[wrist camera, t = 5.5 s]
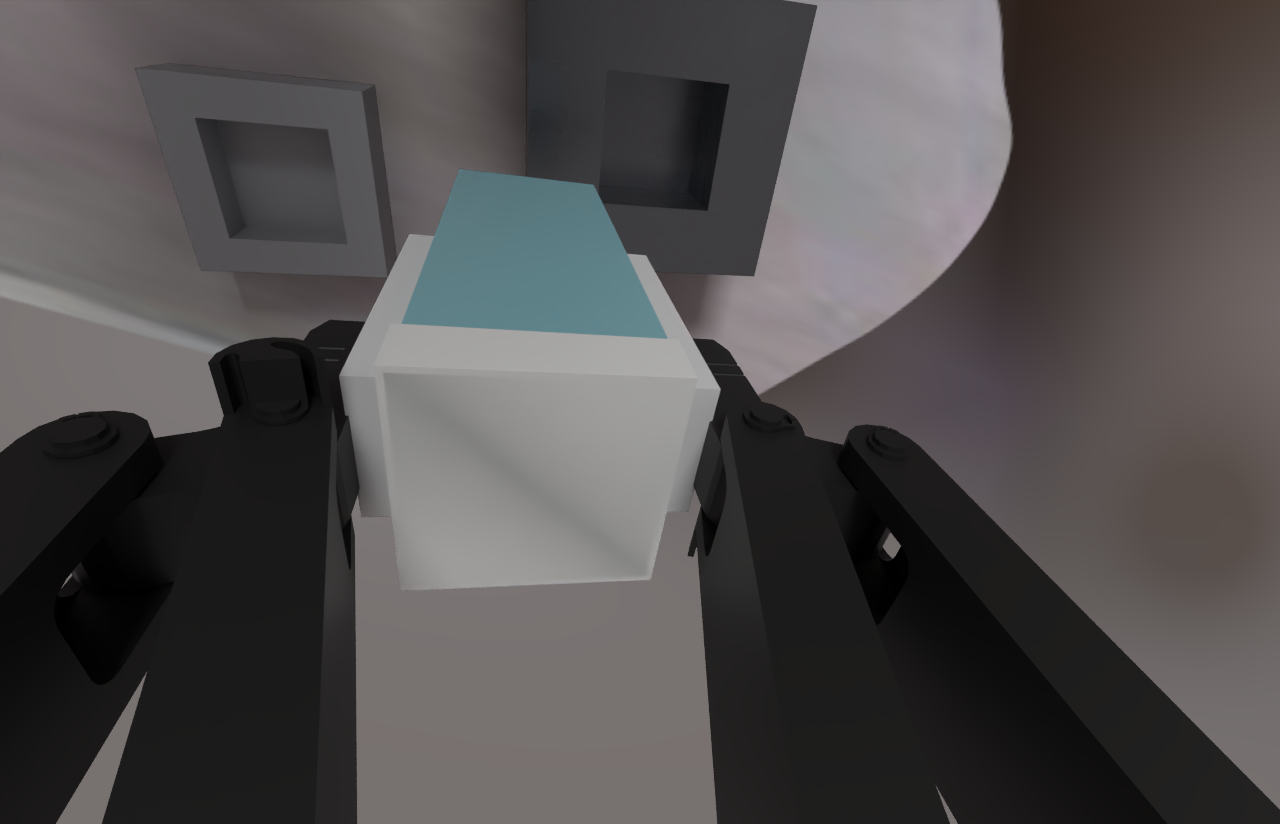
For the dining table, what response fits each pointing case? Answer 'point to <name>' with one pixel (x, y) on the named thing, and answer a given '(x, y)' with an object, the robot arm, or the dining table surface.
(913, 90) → the dining table surface
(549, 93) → the port
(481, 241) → the plug
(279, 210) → the square frame socket
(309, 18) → the dining table surface
